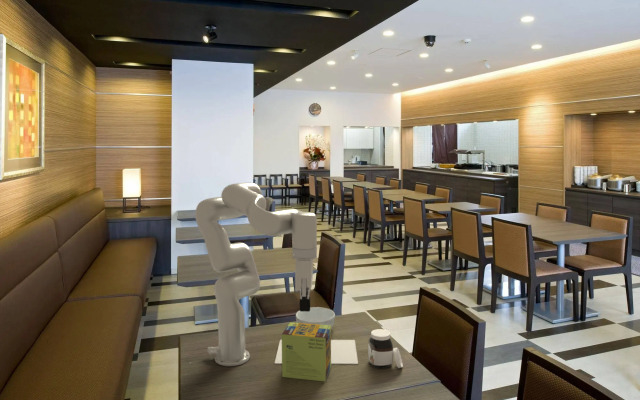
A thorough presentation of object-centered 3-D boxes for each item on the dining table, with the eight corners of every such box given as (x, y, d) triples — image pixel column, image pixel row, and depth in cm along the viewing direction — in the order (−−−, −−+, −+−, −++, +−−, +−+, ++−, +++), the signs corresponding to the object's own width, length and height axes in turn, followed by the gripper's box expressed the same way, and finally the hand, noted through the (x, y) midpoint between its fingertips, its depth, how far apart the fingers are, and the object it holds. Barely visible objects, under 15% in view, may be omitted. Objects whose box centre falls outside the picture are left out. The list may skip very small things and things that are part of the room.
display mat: (274, 363, 165) (274, 363, 165) (280, 340, 185) (280, 339, 185) (358, 364, 165) (358, 363, 165) (354, 340, 185) (354, 339, 185)
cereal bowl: (293, 323, 203) (293, 308, 202) (330, 321, 206) (330, 305, 205) (298, 339, 186) (298, 322, 185) (339, 336, 189) (339, 319, 188)
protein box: (326, 382, 152) (326, 337, 150) (281, 377, 156) (280, 334, 153) (331, 366, 163) (331, 324, 160) (289, 362, 166) (289, 321, 163)
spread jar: (365, 358, 169) (365, 328, 168) (394, 355, 172) (394, 325, 170) (377, 374, 158) (377, 342, 156) (407, 370, 160) (408, 338, 159)
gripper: (294, 247, 148) (294, 302, 150) (290, 258, 133) (291, 319, 136) (317, 247, 148) (317, 302, 150) (316, 258, 133) (316, 319, 135)
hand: (305, 310), depth 143 cm, fingers closed
